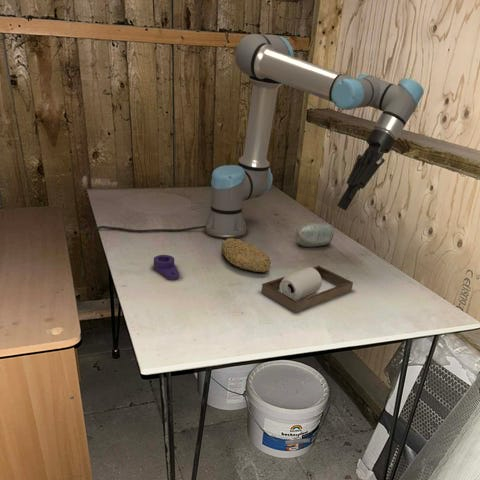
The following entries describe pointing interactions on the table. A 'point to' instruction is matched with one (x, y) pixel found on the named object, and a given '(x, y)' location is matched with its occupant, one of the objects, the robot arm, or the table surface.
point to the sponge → (245, 255)
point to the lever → (166, 267)
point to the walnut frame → (296, 306)
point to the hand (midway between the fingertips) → (341, 207)
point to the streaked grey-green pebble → (314, 234)
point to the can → (301, 283)
